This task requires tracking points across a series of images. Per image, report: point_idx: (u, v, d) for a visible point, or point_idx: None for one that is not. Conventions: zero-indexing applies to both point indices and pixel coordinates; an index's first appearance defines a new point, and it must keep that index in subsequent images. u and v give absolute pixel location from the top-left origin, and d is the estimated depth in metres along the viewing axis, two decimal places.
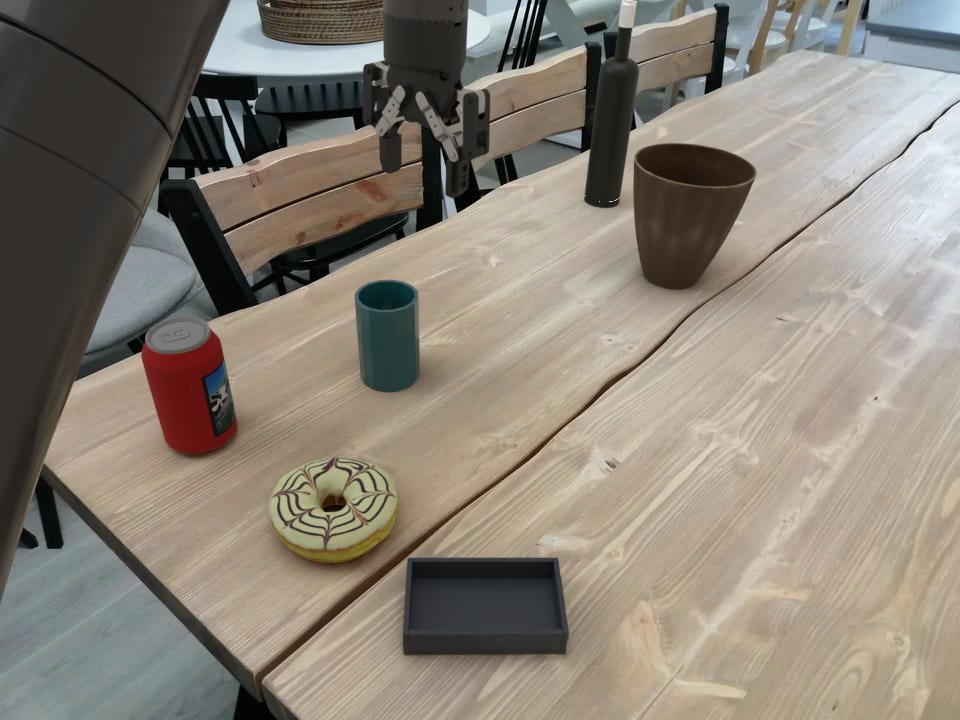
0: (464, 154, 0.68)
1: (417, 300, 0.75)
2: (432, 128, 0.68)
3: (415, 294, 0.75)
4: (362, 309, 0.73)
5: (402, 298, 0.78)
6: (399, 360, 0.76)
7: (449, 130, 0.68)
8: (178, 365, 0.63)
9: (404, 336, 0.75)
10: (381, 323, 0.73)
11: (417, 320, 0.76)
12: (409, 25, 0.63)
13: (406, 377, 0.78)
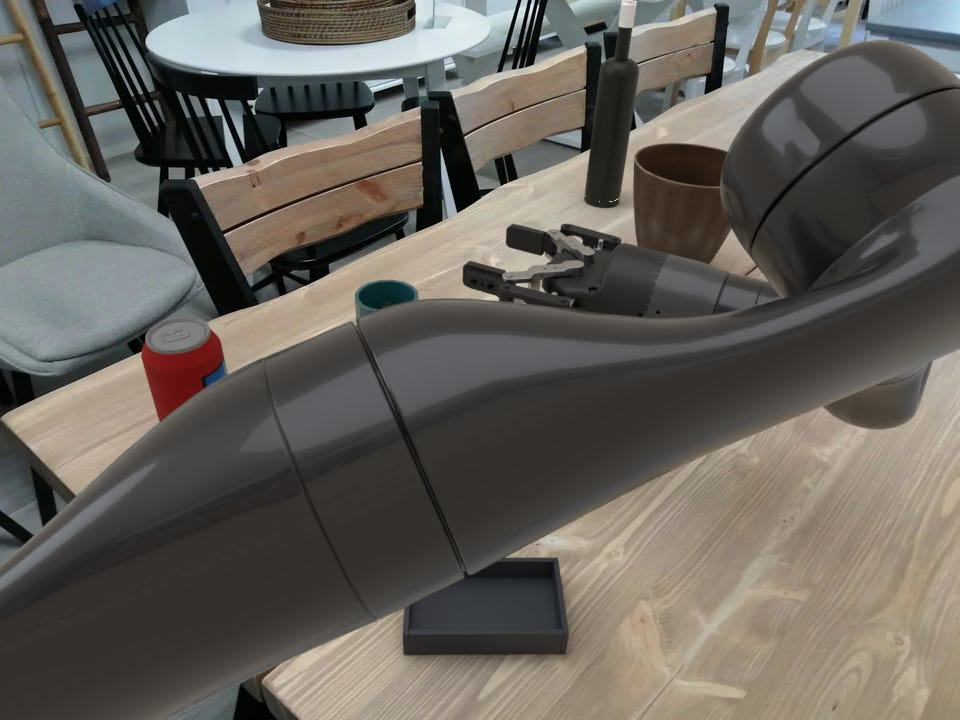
0: (507, 284, 0.60)
1: None
2: (543, 265, 0.61)
3: (415, 294, 0.75)
4: (362, 309, 0.73)
5: (402, 298, 0.78)
6: None
7: (535, 281, 0.61)
8: (178, 365, 0.63)
9: None
10: None
11: None
12: (655, 266, 0.58)
13: None
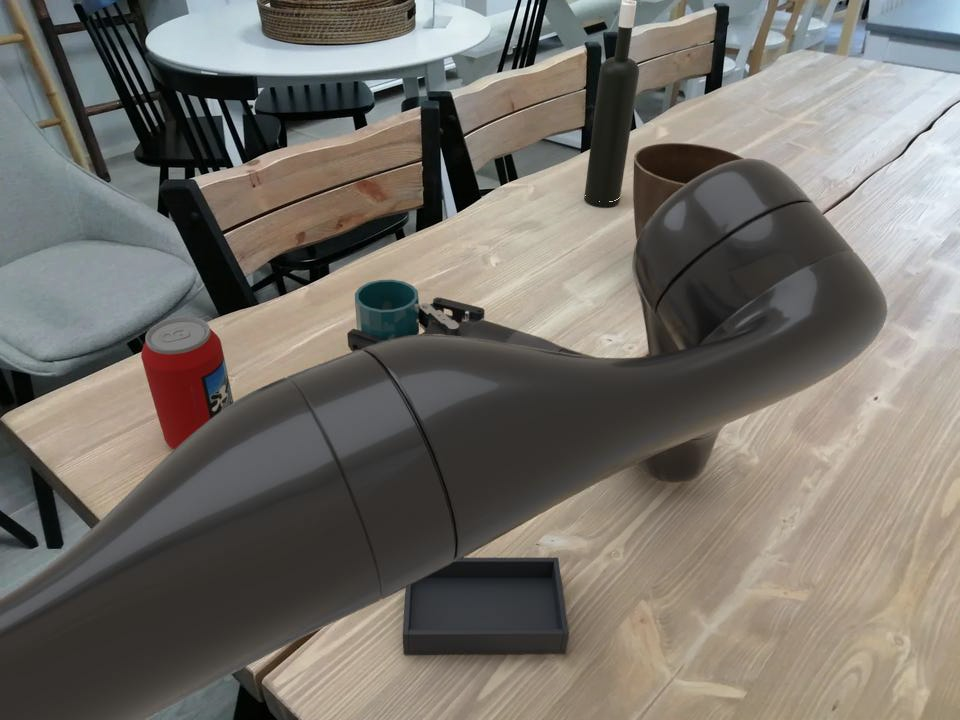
0: None
1: (417, 300, 0.75)
2: None
3: (415, 294, 0.75)
4: (362, 309, 0.73)
5: (402, 298, 0.78)
6: None
7: None
8: (178, 365, 0.63)
9: None
10: (381, 323, 0.73)
11: (417, 320, 0.76)
12: None
13: None
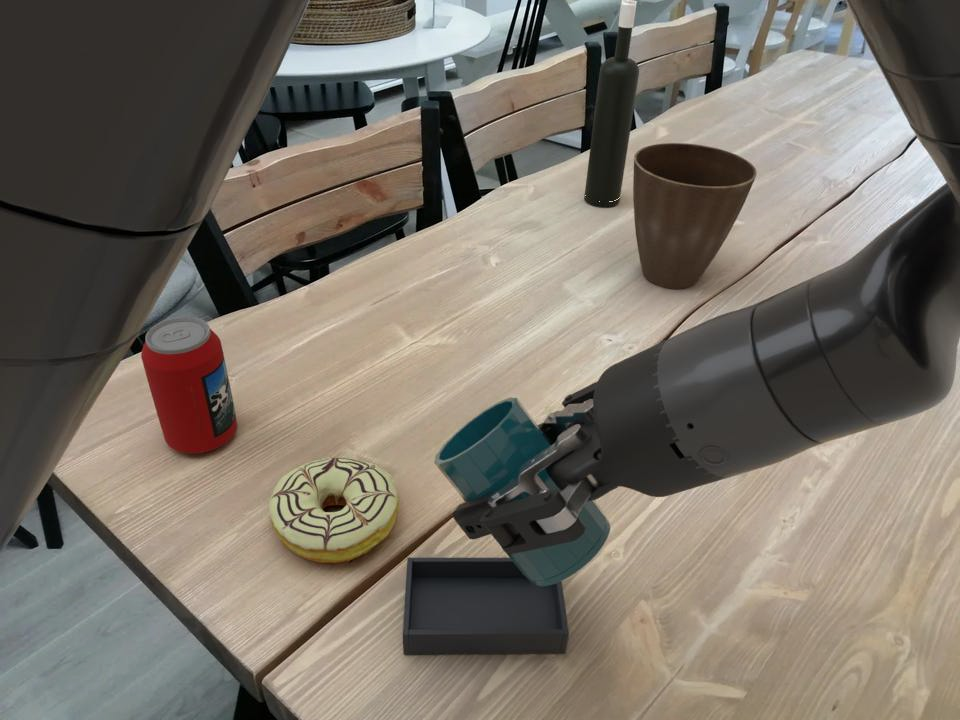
0: (489, 509, 0.41)
1: (517, 407, 0.45)
2: (533, 458, 0.42)
3: (513, 402, 0.45)
4: (445, 467, 0.44)
5: None
6: None
7: (529, 485, 0.41)
8: (178, 365, 0.63)
9: None
10: (479, 469, 0.43)
11: (540, 438, 0.45)
12: (648, 367, 0.36)
13: (582, 536, 0.44)
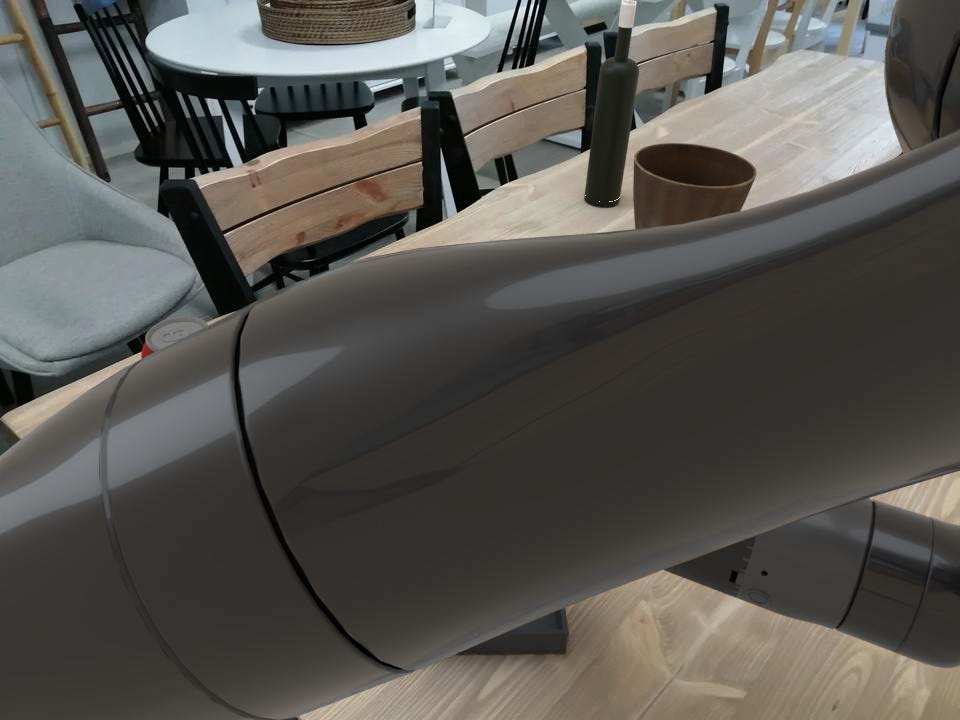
0: None
1: None
2: None
3: None
4: None
5: None
6: None
7: None
8: None
9: None
10: None
11: None
12: None
13: None
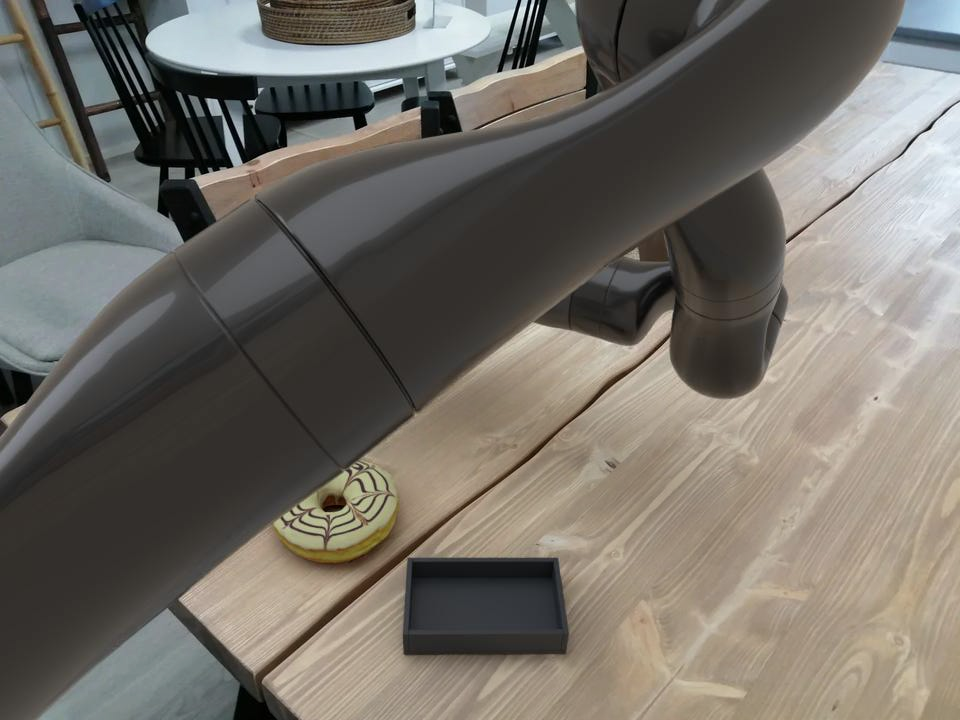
0: None
1: None
2: None
3: None
4: None
5: None
6: None
7: None
8: None
9: None
10: None
11: None
12: None
13: None
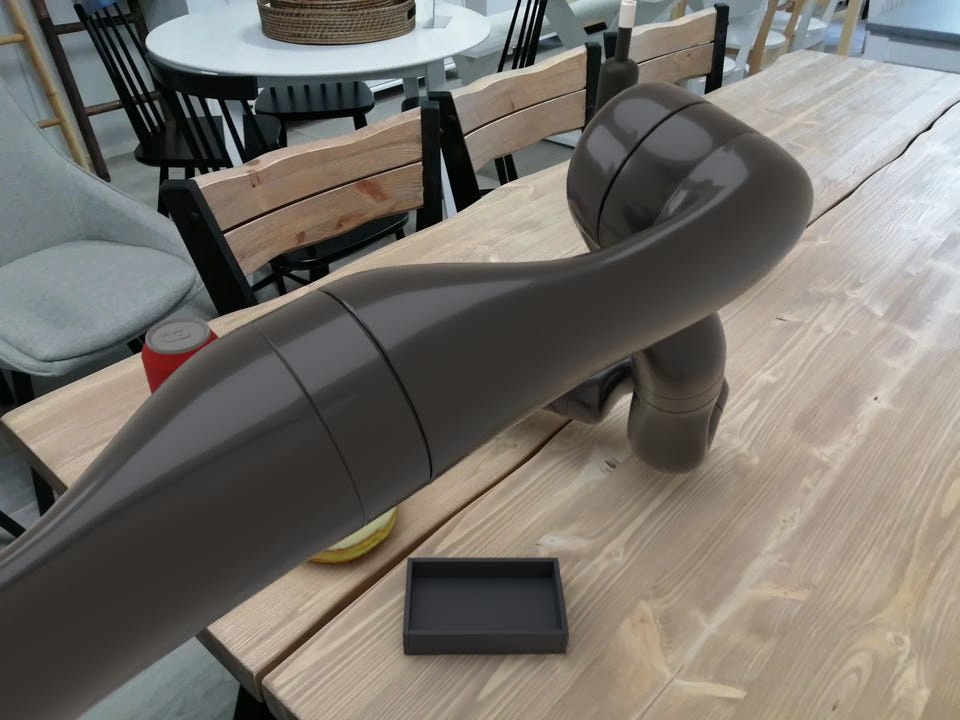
0: None
1: None
2: None
3: None
4: None
5: None
6: None
7: None
8: (178, 365, 0.63)
9: None
10: None
11: None
12: None
13: None
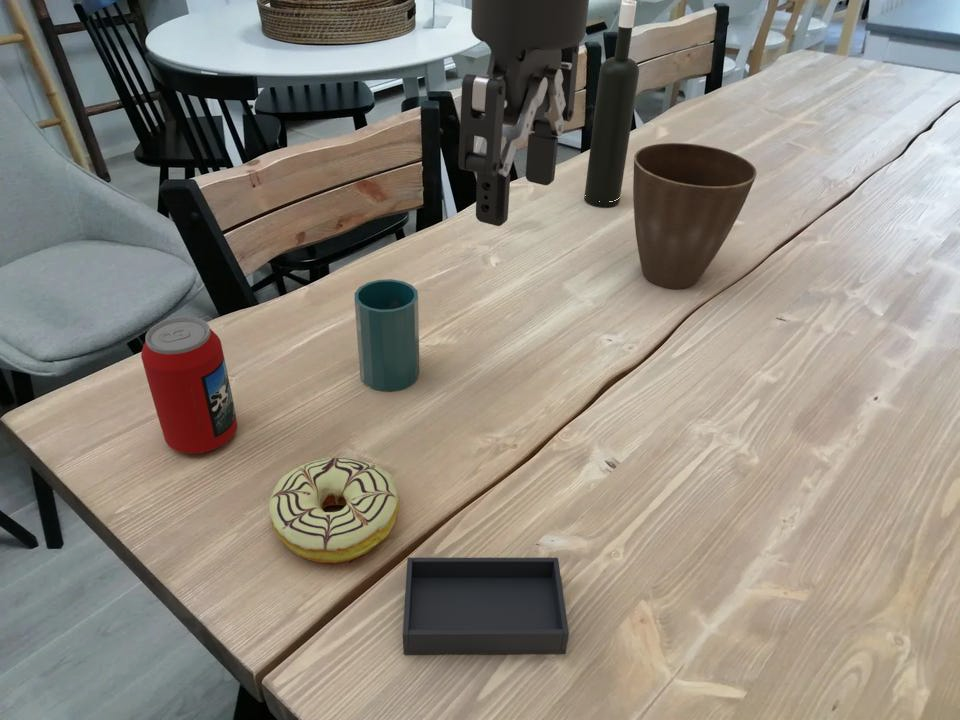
0: None
1: (417, 300, 0.75)
2: None
3: (415, 294, 0.75)
4: (362, 309, 0.73)
5: (401, 298, 0.78)
6: (399, 360, 0.76)
7: None
8: (178, 365, 0.63)
9: (404, 336, 0.75)
10: (381, 323, 0.73)
11: (417, 320, 0.76)
12: None
13: (406, 377, 0.78)
